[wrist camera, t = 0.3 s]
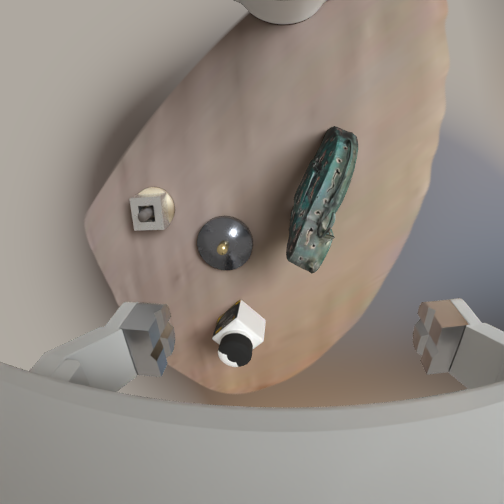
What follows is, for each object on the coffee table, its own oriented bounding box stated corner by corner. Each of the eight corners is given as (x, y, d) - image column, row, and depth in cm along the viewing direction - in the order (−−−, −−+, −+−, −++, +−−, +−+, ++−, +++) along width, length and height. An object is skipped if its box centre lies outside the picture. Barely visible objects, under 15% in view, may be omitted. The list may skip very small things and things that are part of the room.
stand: (133, 188, 57) (118, 196, 52) (172, 185, 56) (160, 192, 51) (138, 228, 60) (125, 239, 55) (177, 227, 59) (166, 238, 54)
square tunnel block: (136, 194, 56) (129, 198, 54) (166, 192, 56) (160, 196, 53) (140, 225, 59) (134, 230, 56) (169, 224, 58) (164, 229, 55)
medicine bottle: (240, 298, 64) (232, 334, 53) (266, 319, 65) (262, 358, 54) (217, 318, 66) (206, 355, 55) (242, 338, 68) (235, 377, 57)
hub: (196, 216, 58) (190, 223, 55) (251, 215, 57) (249, 221, 54) (202, 266, 62) (197, 276, 58) (253, 266, 61) (252, 276, 57)
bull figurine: (309, 238, 58) (321, 293, 40) (276, 225, 58) (272, 276, 39) (352, 135, 50) (390, 143, 32) (317, 120, 50) (337, 119, 31)
